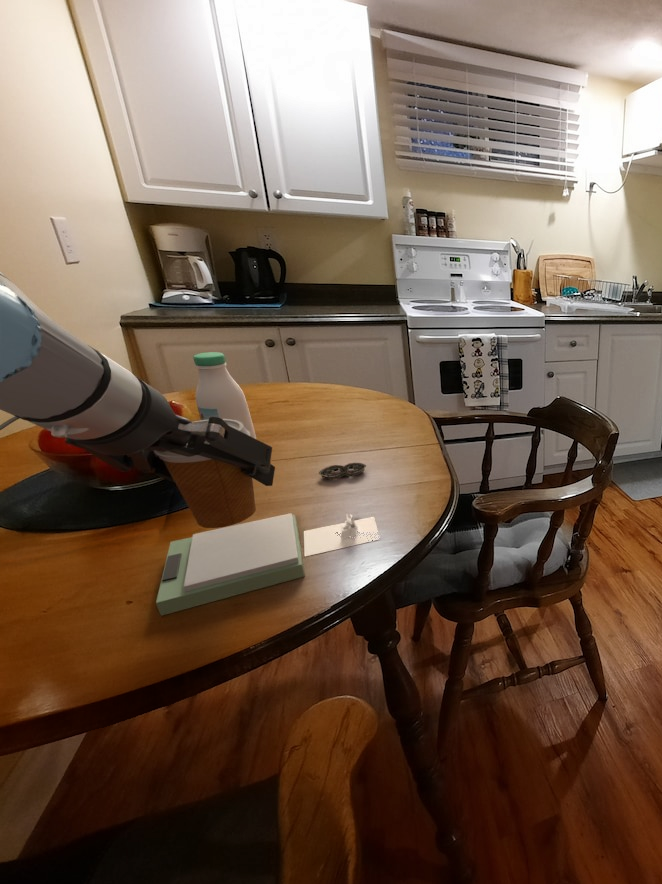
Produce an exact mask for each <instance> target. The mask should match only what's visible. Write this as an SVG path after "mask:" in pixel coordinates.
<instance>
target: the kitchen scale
mask: <svg viewBox="0 0 662 884" xmlns="http://www.w3.org/2000/svg"><path fill="white" fill-rule="evenodd" d="M299 534H300V533H299V526H298V522H297V518H296V514H293V513H292V512H290V513H285V514H280V515H277V516H272V517H267V518H263V519H257V520H253V521H248V522H243V523H237V524H233V525H230V526H226V527H220V528H214V529H212V530H207V531H201V532H196V533H193V534H192V536H191V537H186V538H181V539H177V540H173V541H170V542H169V546H168V550H167V555H166V558H165V563H164V567H163V571H162V577H161V579H160V584H159V588H158V592H157V596H156V600H155V605H156V607H157V610H158V612H159V614H160V616H161V617H162V616H165V615H169V614H173V613H177V612H180V611H184V610H187V609H192V608H195V607H198V606H203V605H206V604H209V603H213V602H216V601H221V600H224V599H227V598H230V597H231V598H232V597H235V596H238V595H242V594H246V593H249V592H253V591H257V590H260V589H263V588H267V587H271V586H275V585H278V584H282V583H285V582H290V581H292V580H296V579H300V578H304V577H305V576H306V575H305V567H304V561H303V554H302V548H301V546H302V545H301V541H300V535H299Z"/></svg>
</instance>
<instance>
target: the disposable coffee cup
mask: <svg viewBox="0 0 662 884" xmlns="http://www.w3.org/2000/svg"><path fill="white" fill-rule="evenodd" d="M223 420H224V421H225V422H226V423H227V424H228V425H229V426H231V427H233V428H235V429H237V430H239V431H241V432H243V433H245V434H247V435H249V436H251V435H250V432H249V431H248V430H247V429H246V428H245V427H244V425H243V424H242V423H241V422H240V421H237V420H231V419H223ZM191 422H192V423H198V424H207V423H208V420H201V419H200V420H195V421H191ZM187 444H188V443H187ZM185 447H186V448H187V445H186V446H185ZM153 451H154V453H155V454H156V457H158V456H159V458H160V459H162V460H163V461H164V464H165V465H166V467H167V469H168V470H169V473H170V474H171V476H172V478H173V480H174V482H175V483H174V482H173V483H174V484H175V485H176V487H177V489H178V491H179V492H180V494H181V495H182V498H183V499H184V501H185V503H186V505H187V507H188V508H189V511H190V512H191V514H192V516H193V517H194V519H195V521H196V523H197V525H198V526H200V527H201V528H207V529H220V528H225V527H229V526H234V525H237V524H240V523H242V522H244V521H246V520H248V519H250V517H252V516H253V515H254V514H255V513H256V510H257V508H256V500H255V491H254V481H253V478H252V477H250V476H248V475H245V473H243V472H241V468H242V467H238V466H235V465H231V464H228V463H224V462H221V461H217V460H213V459H210V458H206V457H203V456H199V455H195V456H191V457H187V456H183V455H180V454H176V453H172V452H169V451H166V452H160V451H156V450H153Z"/></svg>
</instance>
